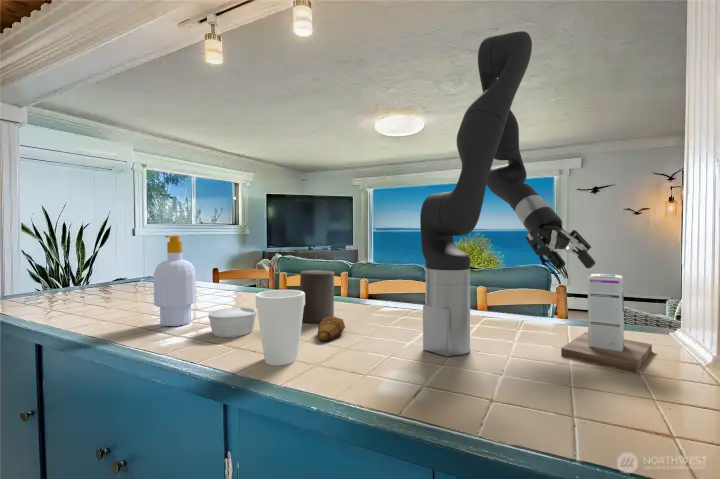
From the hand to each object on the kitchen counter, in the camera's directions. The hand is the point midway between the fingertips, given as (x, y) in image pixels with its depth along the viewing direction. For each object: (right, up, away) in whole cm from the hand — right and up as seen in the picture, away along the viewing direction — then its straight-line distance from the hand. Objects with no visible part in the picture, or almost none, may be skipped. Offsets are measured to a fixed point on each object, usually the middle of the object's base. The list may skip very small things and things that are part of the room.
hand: (577, 266), depth 78 cm
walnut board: (+2, -17, -6) cm, 18 cm away
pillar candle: (-60, -17, +23) cm, 67 cm away
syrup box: (+2, -16, -6) cm, 17 cm away
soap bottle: (-99, -17, +19) cm, 102 cm away
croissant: (-55, -18, +8) cm, 58 cm away
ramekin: (-80, -18, +10) cm, 83 cm away
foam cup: (-64, -18, -9) cm, 67 cm away
